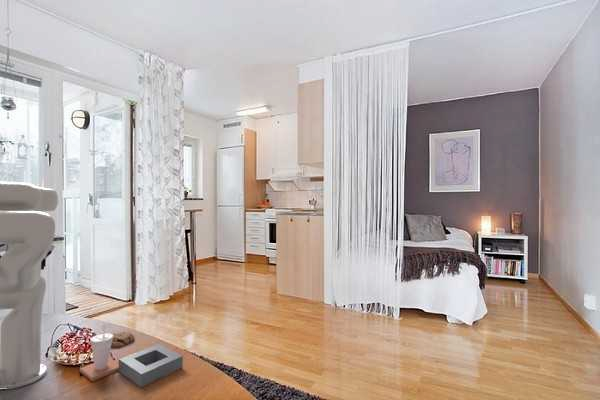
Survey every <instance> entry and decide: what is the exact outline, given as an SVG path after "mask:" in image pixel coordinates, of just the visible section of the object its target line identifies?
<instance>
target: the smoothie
mask: <svg viewBox="0 0 600 400" xmlns="http://www.w3.org/2000/svg"><path fill="white" fill-rule="evenodd" d="M105 329H106V323H102V333H100V334H96V335H94V336H92V337H90V342H89V343H90V344H91V351H92V358H93V359H92V360H93V363H94V368H95V370H102V369H105V368H106V367H107V366H108V361H109V357H110V355H111V354H110V353H111V349H112V348H111V343H112V340H113V335H112V334H113V333H109V332H108V333H106V330H105Z"/></svg>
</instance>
